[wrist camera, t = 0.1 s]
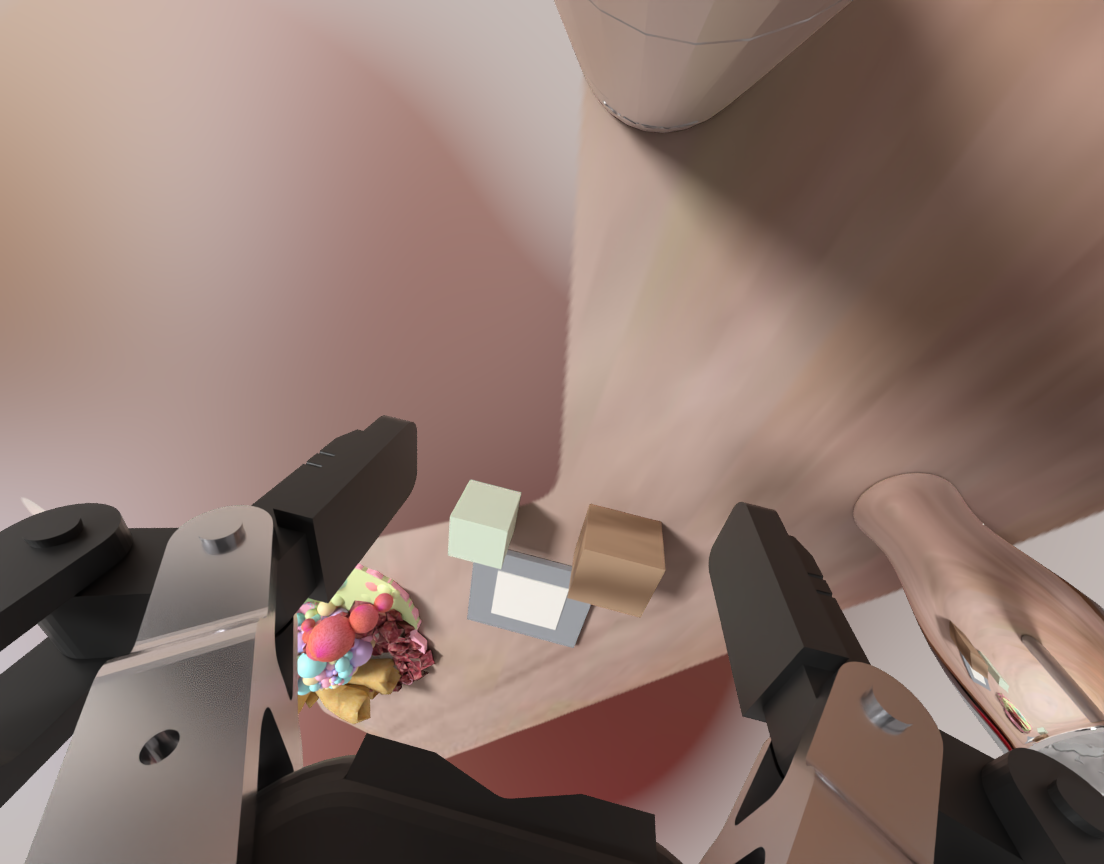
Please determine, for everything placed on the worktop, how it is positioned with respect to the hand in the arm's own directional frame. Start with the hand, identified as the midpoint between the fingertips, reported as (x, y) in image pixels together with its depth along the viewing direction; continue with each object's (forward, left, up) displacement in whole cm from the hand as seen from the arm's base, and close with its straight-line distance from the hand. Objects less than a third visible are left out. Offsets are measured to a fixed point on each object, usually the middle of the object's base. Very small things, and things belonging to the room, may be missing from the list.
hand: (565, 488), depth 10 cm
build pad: (+30, 0, -17) cm, 34 cm away
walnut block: (+19, +6, -17) cm, 26 cm away
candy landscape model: (+45, -22, -18) cm, 53 cm away
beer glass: (+9, +24, -17) cm, 31 cm away
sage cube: (+19, -5, -17) cm, 26 cm away
